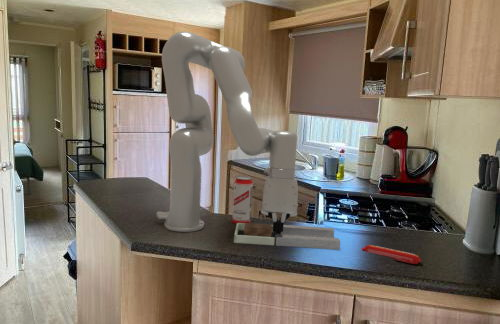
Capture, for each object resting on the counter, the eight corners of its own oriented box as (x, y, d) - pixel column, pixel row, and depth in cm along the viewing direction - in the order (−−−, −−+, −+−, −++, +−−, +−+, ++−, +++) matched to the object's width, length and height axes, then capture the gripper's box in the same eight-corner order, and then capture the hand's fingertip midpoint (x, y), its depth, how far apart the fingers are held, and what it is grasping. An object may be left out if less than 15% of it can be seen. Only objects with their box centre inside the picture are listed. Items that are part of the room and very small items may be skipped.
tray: (233, 245, 112) (234, 235, 112) (236, 232, 124) (237, 222, 124) (273, 248, 112) (274, 238, 112) (272, 234, 124) (273, 225, 124)
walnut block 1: (243, 240, 116) (244, 226, 115) (244, 235, 120) (245, 222, 119) (257, 240, 116) (258, 227, 115) (257, 236, 120) (258, 223, 119)
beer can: (248, 228, 129) (251, 180, 127) (229, 226, 130) (232, 178, 128) (252, 222, 135) (255, 177, 133) (234, 220, 136) (236, 175, 134)
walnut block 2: (257, 240, 116) (258, 227, 115) (257, 236, 120) (258, 223, 119) (270, 241, 116) (271, 228, 115) (270, 237, 120) (271, 224, 119)
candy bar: (422, 263, 108) (423, 253, 108) (421, 268, 105) (422, 257, 105) (362, 250, 115) (363, 241, 115) (360, 254, 112) (361, 244, 112)
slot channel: (275, 248, 112) (276, 236, 112) (274, 234, 124) (275, 224, 123) (339, 253, 112) (340, 241, 111) (332, 238, 123) (333, 228, 123)
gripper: (255, 174, 111) (252, 236, 114) (308, 177, 111) (304, 239, 114) (256, 169, 119) (252, 228, 121) (305, 172, 118) (301, 231, 121)
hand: (277, 233), depth 118 cm, fingers closed
